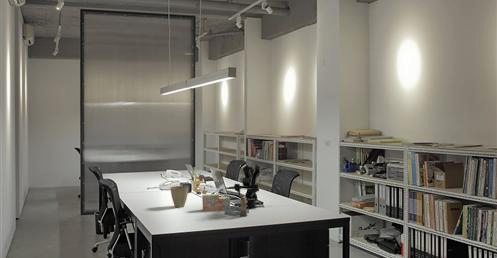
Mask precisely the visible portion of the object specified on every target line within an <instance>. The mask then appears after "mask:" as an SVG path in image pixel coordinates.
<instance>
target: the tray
mask: <svg viewBox="0 0 497 258" xmlns="http://www.w3.org/2000/svg"><path fill="white" fill-rule="evenodd" d="M240 213H241V207H234V208H230V209H228V210H224V214H226V215H231V216H236V217H237V216H240ZM246 213H247V214H250V209H249V208H246Z"/></svg>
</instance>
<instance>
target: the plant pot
mask: <svg viewBox="0 0 497 258" xmlns="http://www.w3.org/2000/svg"><path fill="white" fill-rule="evenodd" d="M170 193H171V194H170V195H171V199H172V203H173V206H174V207H175V208H184V207H185V205H186V202H187V199H188V195H189V186H185V185H179V186H175V185H174V186H171V187H170Z"/></svg>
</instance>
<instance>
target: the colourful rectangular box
mask: <svg viewBox="0 0 497 258" xmlns="http://www.w3.org/2000/svg"><path fill="white" fill-rule="evenodd" d="M228 209H231V197H229V196H219V194H218V193H208V194H207V193H205V194H204V193H203V194H202V211H203V212H209V211H210V212H211V211H212V212H213V211H225V210H228Z"/></svg>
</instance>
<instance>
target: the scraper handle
mask: <svg viewBox="0 0 497 258" xmlns="http://www.w3.org/2000/svg"><path fill="white" fill-rule="evenodd" d="M246 207H247V200H246V197H245V196H240V208H241V213H240V215H239V217H243V218H244V217H245V218H246V217H248V213H246V209H247V208H246Z"/></svg>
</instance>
